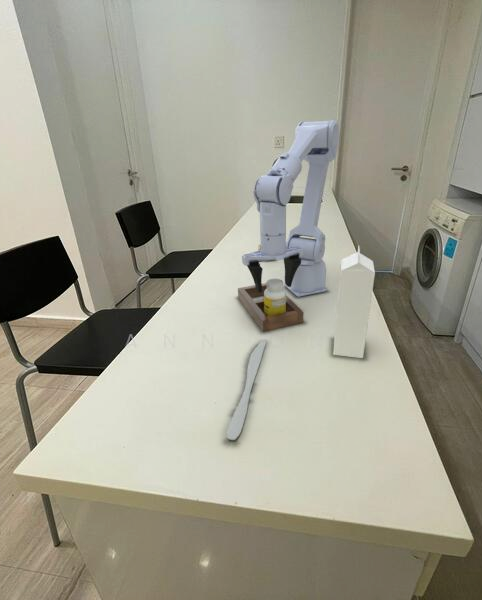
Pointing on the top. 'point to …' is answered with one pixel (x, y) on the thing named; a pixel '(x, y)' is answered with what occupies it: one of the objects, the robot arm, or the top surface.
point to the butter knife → (245, 393)
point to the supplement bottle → (274, 298)
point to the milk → (353, 305)
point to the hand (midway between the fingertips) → (273, 288)
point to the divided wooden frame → (257, 308)
